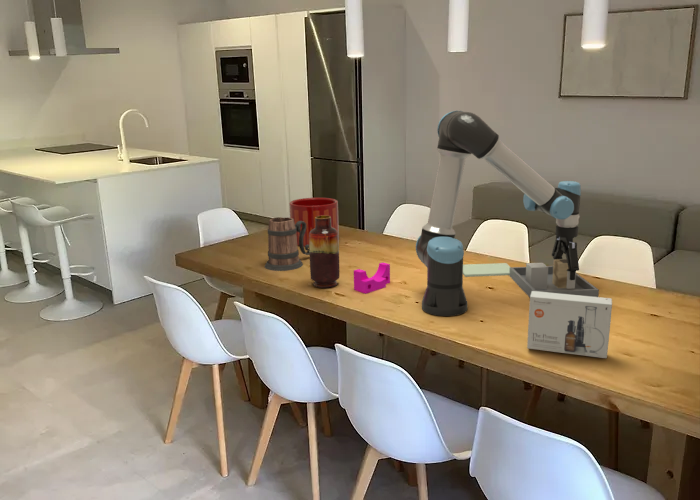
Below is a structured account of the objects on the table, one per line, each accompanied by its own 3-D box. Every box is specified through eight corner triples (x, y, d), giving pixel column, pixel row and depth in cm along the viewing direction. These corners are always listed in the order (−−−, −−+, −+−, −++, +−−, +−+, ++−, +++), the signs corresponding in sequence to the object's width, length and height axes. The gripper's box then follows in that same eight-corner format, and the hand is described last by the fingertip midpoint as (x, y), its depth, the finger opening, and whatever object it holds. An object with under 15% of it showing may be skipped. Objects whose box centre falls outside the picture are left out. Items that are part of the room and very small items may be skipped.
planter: (320, 251, 287) (319, 207, 282) (281, 245, 299) (279, 203, 294) (348, 240, 305) (347, 199, 300) (310, 235, 318) (308, 196, 313)
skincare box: (526, 349, 176) (529, 296, 172) (528, 342, 181) (531, 289, 177) (607, 359, 168) (612, 303, 164) (607, 351, 173) (612, 297, 169)
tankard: (279, 273, 253) (276, 225, 248) (255, 266, 266) (252, 219, 261) (324, 262, 268) (322, 216, 263) (300, 255, 281) (298, 211, 276)
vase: (307, 282, 242) (304, 215, 235) (334, 278, 245) (332, 212, 239) (315, 290, 232) (313, 221, 225) (344, 286, 235) (342, 218, 229)
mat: (516, 275, 244) (516, 272, 243) (465, 277, 243) (465, 274, 243) (506, 265, 257) (506, 263, 257) (457, 267, 256) (457, 264, 256)
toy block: (365, 293, 227) (365, 273, 225) (354, 289, 232) (353, 270, 230) (394, 284, 237) (394, 265, 235) (383, 281, 241) (382, 262, 240)
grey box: (547, 288, 225) (548, 267, 223) (530, 289, 225) (531, 267, 223) (541, 283, 231) (542, 262, 229) (525, 284, 231) (526, 263, 229)
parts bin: (598, 299, 214) (598, 289, 213) (534, 302, 213) (534, 292, 213) (565, 274, 243) (566, 265, 242) (509, 276, 242) (509, 267, 242)
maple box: (574, 287, 225) (576, 263, 223) (558, 288, 225) (559, 263, 223) (568, 282, 231) (570, 258, 229) (552, 283, 231) (553, 259, 229)
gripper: (591, 232, 211) (587, 292, 216) (564, 217, 235) (561, 272, 240) (569, 233, 210) (565, 293, 216) (544, 218, 235) (541, 272, 240)
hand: (563, 282), depth 228 cm, fingers open, 13 cm apart
